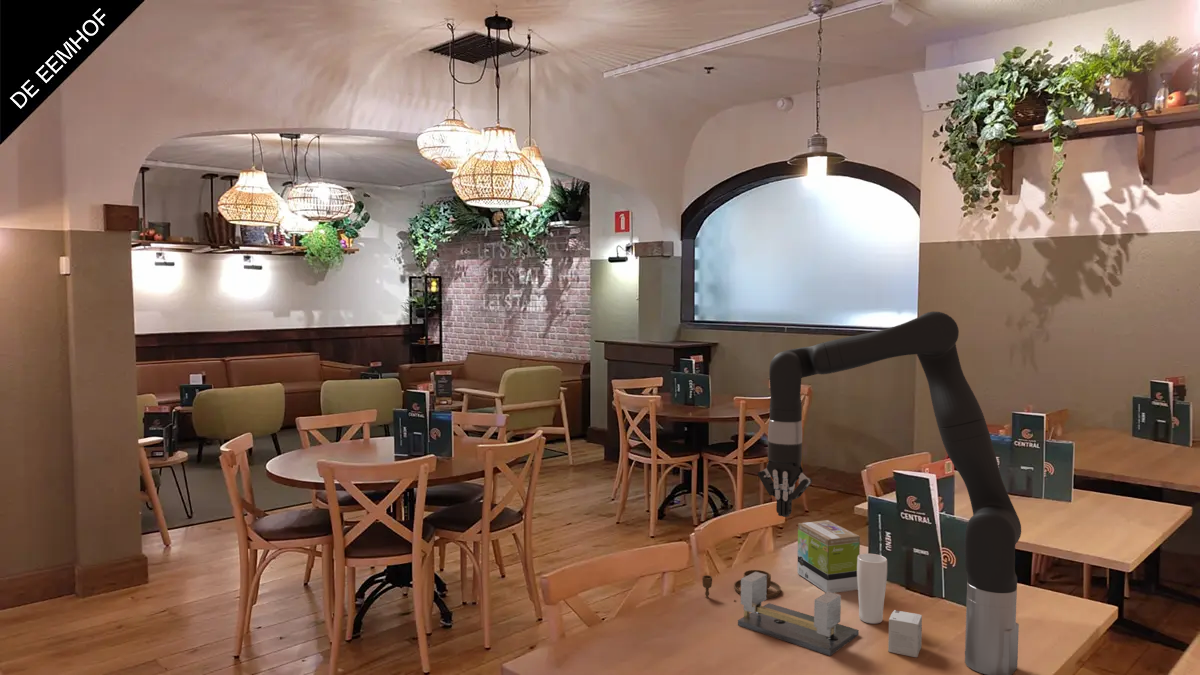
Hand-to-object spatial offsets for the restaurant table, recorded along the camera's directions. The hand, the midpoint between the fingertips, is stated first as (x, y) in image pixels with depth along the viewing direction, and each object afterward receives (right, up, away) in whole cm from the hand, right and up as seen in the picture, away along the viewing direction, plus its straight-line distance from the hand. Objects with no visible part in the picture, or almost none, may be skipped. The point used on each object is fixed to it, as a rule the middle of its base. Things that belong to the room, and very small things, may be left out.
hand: (783, 515), depth 179 cm
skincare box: (+25, -28, -7) cm, 38 cm away
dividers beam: (+1, -26, 0) cm, 26 cm away
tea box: (+19, -26, +33) cm, 46 cm away
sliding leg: (-6, -25, +6) cm, 26 cm away
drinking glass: (+23, -27, +9) cm, 36 cm away
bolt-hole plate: (+4, -27, +3) cm, 27 cm away
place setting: (-5, -26, +28) cm, 38 cm away
